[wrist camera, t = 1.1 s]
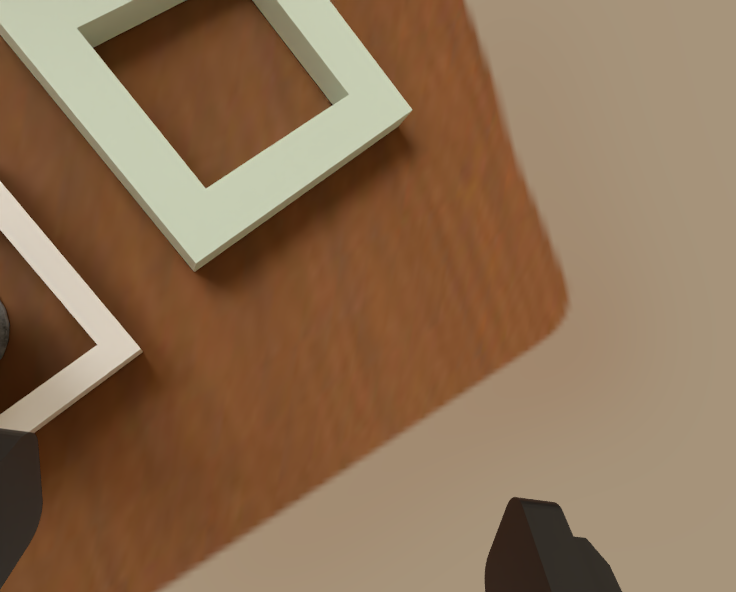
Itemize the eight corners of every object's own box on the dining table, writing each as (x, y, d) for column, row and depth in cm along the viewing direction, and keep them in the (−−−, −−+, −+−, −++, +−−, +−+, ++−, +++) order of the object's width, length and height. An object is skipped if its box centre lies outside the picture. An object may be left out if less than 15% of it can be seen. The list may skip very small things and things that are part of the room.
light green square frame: (194, 272, 27) (196, 263, 26) (-1, 33, 26) (-14, 5, 24) (398, 126, 32) (412, 109, 30) (241, -81, 31) (245, -111, 29)
